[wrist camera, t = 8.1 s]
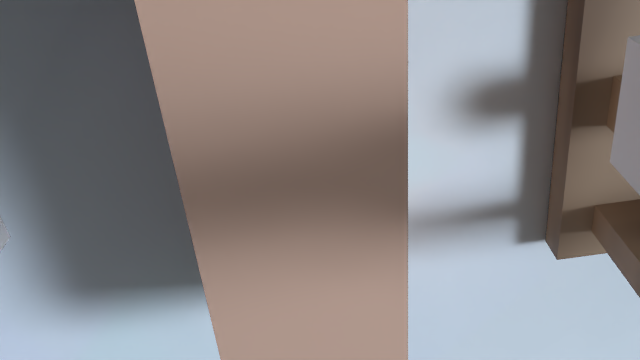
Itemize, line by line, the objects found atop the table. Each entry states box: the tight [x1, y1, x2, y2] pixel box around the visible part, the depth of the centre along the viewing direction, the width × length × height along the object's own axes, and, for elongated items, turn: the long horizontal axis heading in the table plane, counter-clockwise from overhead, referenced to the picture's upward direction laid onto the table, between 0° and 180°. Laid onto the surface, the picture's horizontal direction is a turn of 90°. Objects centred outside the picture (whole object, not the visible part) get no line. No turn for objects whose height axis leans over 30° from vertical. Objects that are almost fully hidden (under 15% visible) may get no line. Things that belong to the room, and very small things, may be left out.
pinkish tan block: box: [134, 0, 408, 360], centre depth 14 cm, size 4×16×7 cm, turn 5°
